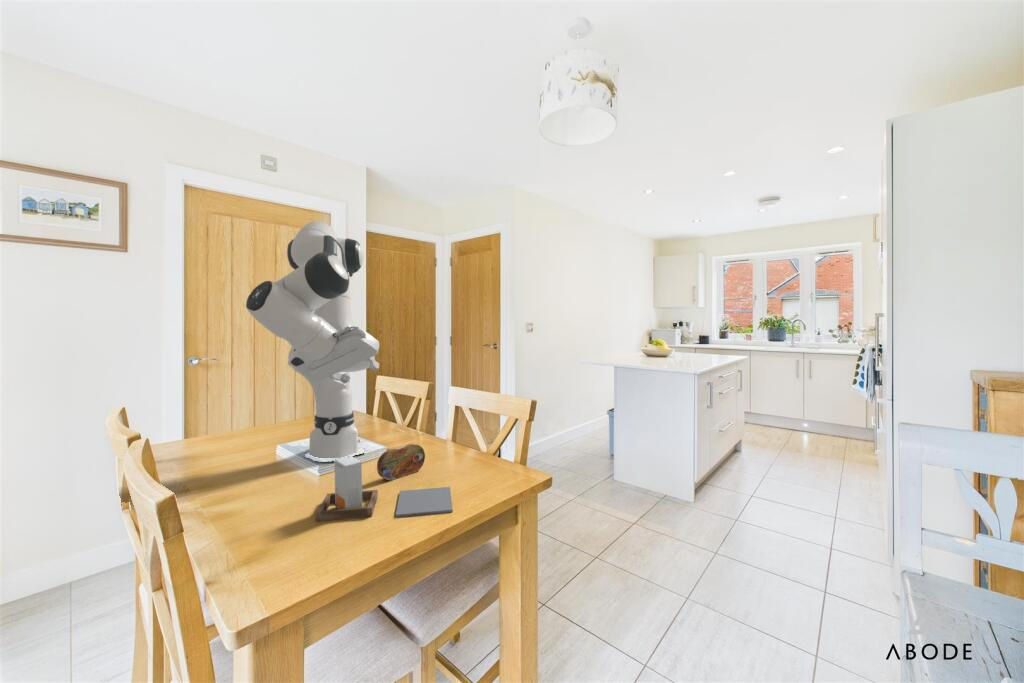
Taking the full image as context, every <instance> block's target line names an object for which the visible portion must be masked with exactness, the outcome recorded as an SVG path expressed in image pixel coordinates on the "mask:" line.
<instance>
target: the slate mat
mask: <svg viewBox="0 0 1024 683" xmlns="http://www.w3.org/2000/svg"><path fill="white" fill-rule="evenodd" d="M397 500H398V502H397V505H396V506H397V507H396V512H395V518H401V517H412V516H413V517H414V516H416V517H417V516H422V515H423V516H425V515H436V514H437V515H438V514H446V513H448V514H449V513H454V512H453V502H452V493H451V487H450V486H446V487H445V486H444V487H431V488H419V489H418V488H417V489H406V490H399V494H398V499H397Z"/></svg>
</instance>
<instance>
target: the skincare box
mask: <svg viewBox="0 0 1024 683" xmlns="http://www.w3.org/2000/svg"><path fill="white" fill-rule="evenodd" d="M362 462H363V461H361V460H359V459H358V458H356V457H352V456H347V457H343V458H339V459H335V462H334V493H335V509H344V508H355V507H363V500H362V491H363V471H362V470H363V468H362V466H363V465H362V464H363V463H362Z"/></svg>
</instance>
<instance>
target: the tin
mask: <svg viewBox="0 0 1024 683" xmlns="http://www.w3.org/2000/svg"><path fill="white" fill-rule="evenodd" d="M425 458H426V452H425V450H424V448H423V447H422V446H421V445H419V444H415V443H414V444H412V443H409V444H406V445H403V446H399V447H396V448H393V449H389V450H386V451H384V452H383V453H382V454H381V455H380V457H379V458H378V460H377V464H376V470H377V474H378V475H379V476H380V477H381V478H382V479H384V480H385V481H386V480H387V481H388V482H389V481H390V482H391V481H396V480H398V479H401V478H404V477H407V476H409V475H412V474H414V473H417V472H418V471H420V469H422V468H423V465H424V463H425Z"/></svg>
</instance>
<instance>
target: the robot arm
mask: <svg viewBox="0 0 1024 683" xmlns="http://www.w3.org/2000/svg"><path fill="white" fill-rule="evenodd" d="M286 258H287V260H288V263H289V265H290V267H291V268H293V270H292V271H291V272H289V273H288V274H287V275H285V276H283V277H282V278H281V279H278V280H276V281H272V280H266V281H263V282H261V283H259V284H258V285H257V286H255V287H254V288H253V289H252V290H251V292H250V293H249V294H248V297H247V299H246V302H245V303H246V304H245V308H246V310H247V311H248V312H249V313H250V315H251V316H252V317H253V318H254V319H255V320H256V321H257V322H258V323H259V324H260V325H261V326H263V327H264V328H265V329H266V330H268V331H269V332H271V333H272V334H273V335H275V336H276V337H278V338H279V339H280V338H281V339H283V340H285V341H286V342H287V343H288V344H289V345H290V346H291V347H290V349H289V352H288V360H287V365H288V366H289V367H291V368H292V369H293V370H294V371H295V372H296V373H298V374H299V375H301V376H303V378H305V380H307V381H308V383H309V384H310V386H311V389H312V391H313V395H314V402H315V403H314V405H315V415H314V419H313V422H314V429H313V430H311V432H310V433H309V446H308V447H309V448H308V450H309V451H308V452H309V454H310V455H312V456H314V457H318V458H341V457H345V456H348V455H351V454H353V453H356V452H358V443H360V439H361V438H359V437H358V436H359V434H358V433H359V432H358V429H357V426H356V424H355V414H354V410H353V392H352V389H351V387H349V386H347V385H346V384H347V383H349V382H350V380H351V376H350V375H348V374H347V373H353V372H354V373H355V372H359V371H360V372H361V371H363V370H367V369H370V370H371V371H373V372H374V371H376V370H378V369H379V368H380V363H379V362H378V361H376V358H375V357H376V355H378V353H379V350H380V342H379V340H378V339H376V338H375V337H374V336H373V335H371V334H370V333H368V332H367V331H365V330H363V329H362V328H361V327H359V326H354V323H353V320H352V312H351V295H350V294H351V293H350V278H351V277H353V275H354V274H355V273H357V272H358V271H359V270H360V269H361V268H362V265H363V262H364V251H363V249H362V246H361V244H360V242H358V240H355V239H352V238H342V237H341V238H339V237H337V234H336V232H335V230H334V228H333V227H332V226H331V225H330V224H328V223H326V222H324V221H321V220H312V221H310V222H308V223H307V224H305V225H304V226H302V227H301V228H300V229H299V231H297V233H296V234H295V236H294V238H293V239H291V241H290V242H289V243H288V245H287V249H286Z"/></svg>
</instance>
